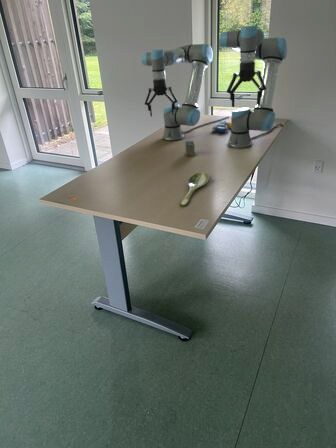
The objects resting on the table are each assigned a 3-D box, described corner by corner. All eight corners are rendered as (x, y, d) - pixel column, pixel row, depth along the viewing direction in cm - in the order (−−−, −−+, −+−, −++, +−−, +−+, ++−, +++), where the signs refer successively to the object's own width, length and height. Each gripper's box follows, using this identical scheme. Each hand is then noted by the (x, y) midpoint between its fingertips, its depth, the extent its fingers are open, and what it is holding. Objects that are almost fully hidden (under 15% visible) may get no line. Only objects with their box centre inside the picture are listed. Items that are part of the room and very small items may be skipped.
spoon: (193, 209, 156) (193, 205, 155) (172, 207, 159) (171, 203, 158) (212, 175, 182) (212, 172, 181) (193, 174, 186) (193, 170, 184)
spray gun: (237, 125, 262) (219, 125, 268) (237, 120, 259) (219, 119, 266) (229, 134, 246) (210, 133, 253) (229, 128, 244) (210, 127, 250)
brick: (185, 153, 219) (185, 141, 215) (193, 152, 219) (192, 140, 215) (187, 156, 213) (186, 145, 209) (194, 155, 213) (194, 144, 209)
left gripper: (137, 81, 196) (141, 118, 207) (180, 78, 195) (182, 115, 206) (138, 79, 202) (142, 115, 213) (180, 76, 201) (181, 112, 212)
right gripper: (224, 64, 165) (223, 109, 176) (274, 60, 165) (270, 104, 176) (221, 63, 171) (221, 106, 182) (269, 58, 171) (266, 101, 182)
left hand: (162, 115), depth 209 cm, fingers open, 13 cm apart
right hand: (245, 105), depth 179 cm, fingers open, 13 cm apart
